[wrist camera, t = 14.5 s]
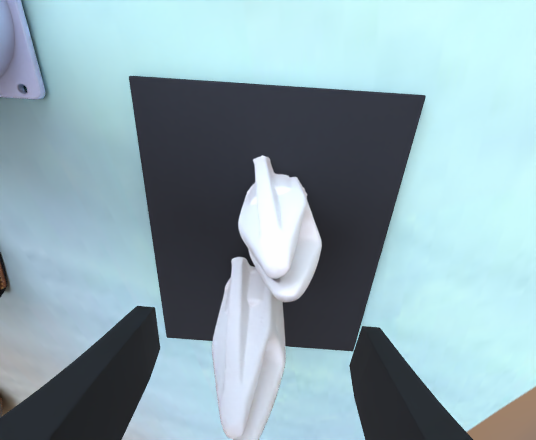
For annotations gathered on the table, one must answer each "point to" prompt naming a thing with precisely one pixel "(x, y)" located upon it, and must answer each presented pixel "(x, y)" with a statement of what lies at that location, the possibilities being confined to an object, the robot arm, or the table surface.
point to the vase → (1, 407)
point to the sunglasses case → (2, 277)
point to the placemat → (243, 176)
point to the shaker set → (262, 299)
